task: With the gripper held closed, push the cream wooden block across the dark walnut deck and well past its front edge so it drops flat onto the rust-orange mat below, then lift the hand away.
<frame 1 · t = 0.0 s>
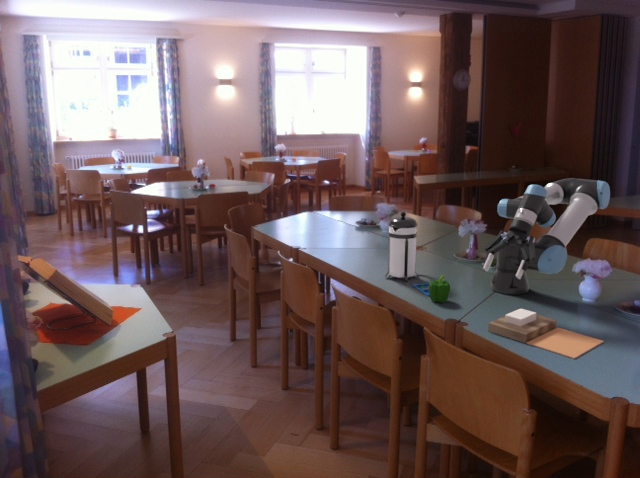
hand: (501, 273, 218), 15 cm above the table, tool tilted 35°, fingers open, 13 cm apart
walnut deck: (522, 329, 206), on the table
handheld gaming device: (428, 291, 250), on the table
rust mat: (565, 342, 194), on the table
coffee press: (402, 277, 268), on the table
cream block: (520, 320, 206), point 3 cm above the table, touching walnut deck
bell pepper: (439, 301, 236), on the table
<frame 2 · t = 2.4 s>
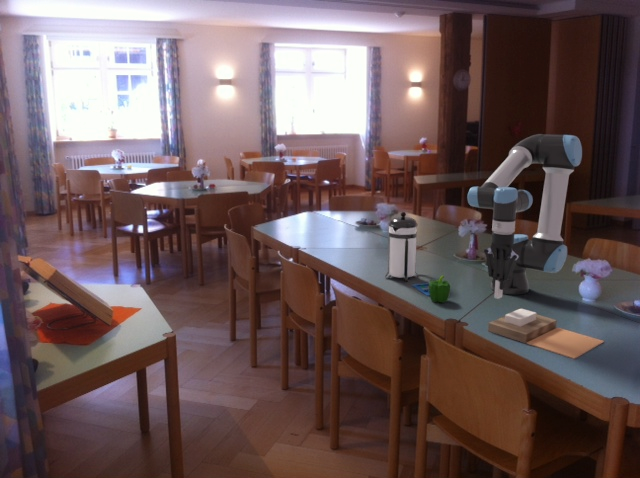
hand: (498, 297, 211), 9 cm above the table, tool pointing down, fingers closed
nothing on the table moved.
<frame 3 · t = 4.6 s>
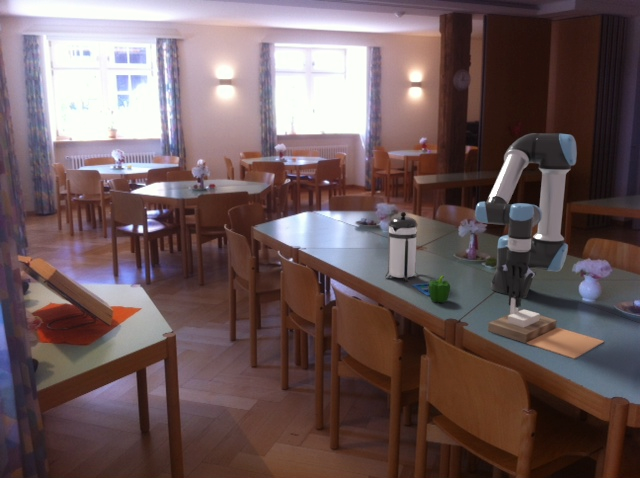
hand: (513, 315, 207), 4 cm above the table, tool pointing down, fingers closed
cream block: (523, 321, 205), point 3 cm above the table
everything else where it was.
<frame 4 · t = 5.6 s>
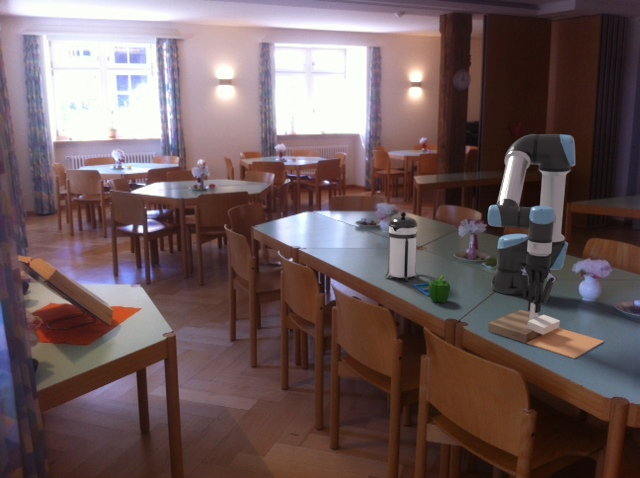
hand: (533, 320, 202), 4 cm above the table, tool pointing down, fingers closed
cream block: (542, 327, 199), point 3 cm above the table, tilted 5°, touching gripper
everything else where it was.
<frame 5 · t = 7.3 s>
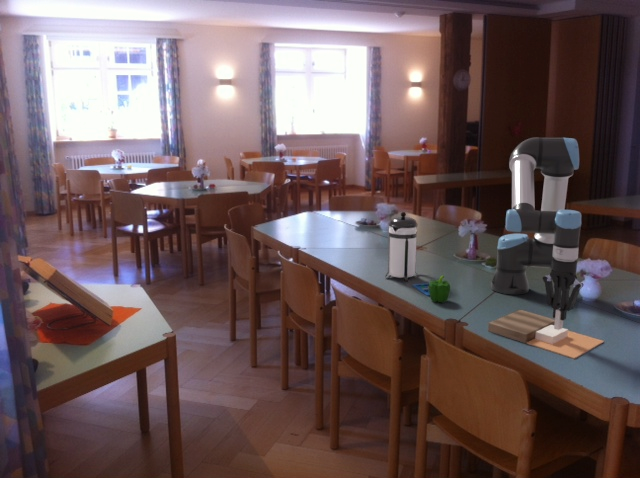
hand: (558, 328, 195), 4 cm above the table, tool pointing down, fingers closed
cream block: (551, 337, 198), resting on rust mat
everything else where it was.
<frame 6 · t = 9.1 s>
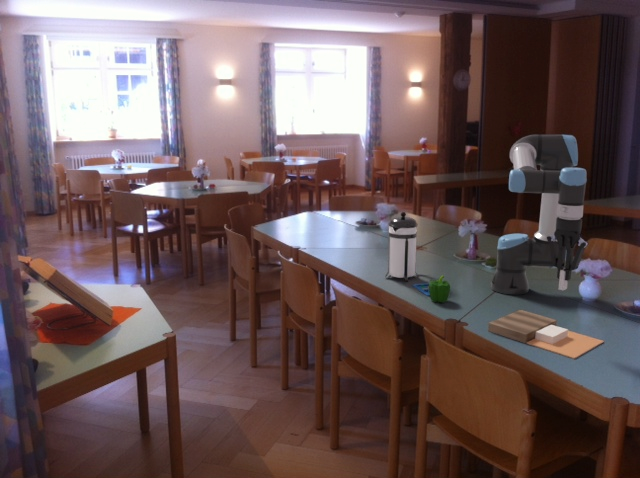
hand: (562, 289, 192), 18 cm above the table, tool pointing down, fingers closed
nothing on the table moved.
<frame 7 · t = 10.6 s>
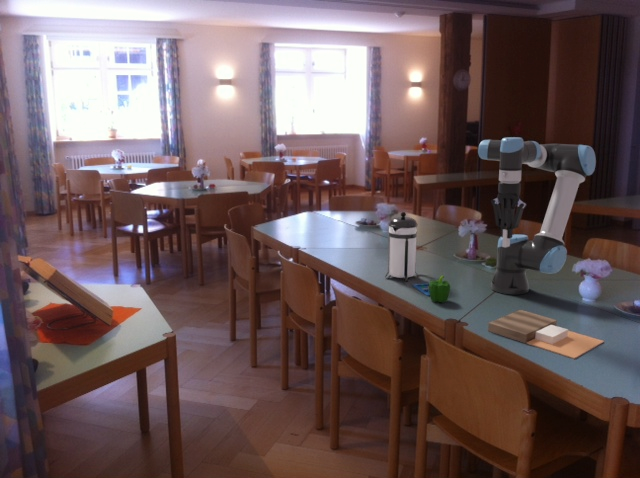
hand: (505, 246, 216), 26 cm above the table, tool pointing down, fingers closed
nothing on the table moved.
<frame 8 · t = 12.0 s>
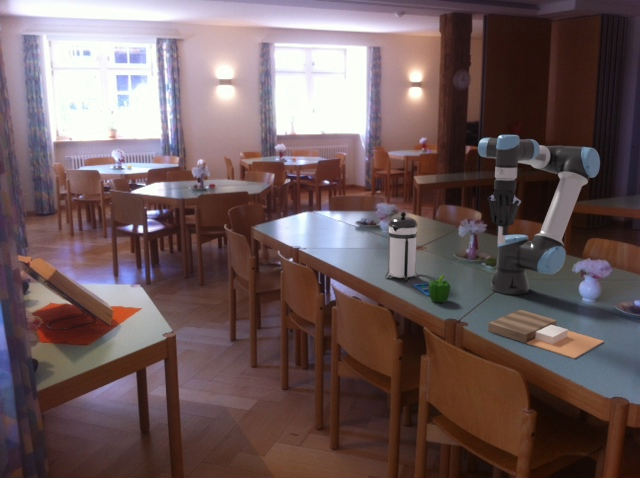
hand: (501, 243, 217), 26 cm above the table, tool pointing down, fingers closed
nothing on the table moved.
at the end: cream block inside the target area (5.2 cm from its centre), resting on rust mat; cream block tilted 0° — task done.
